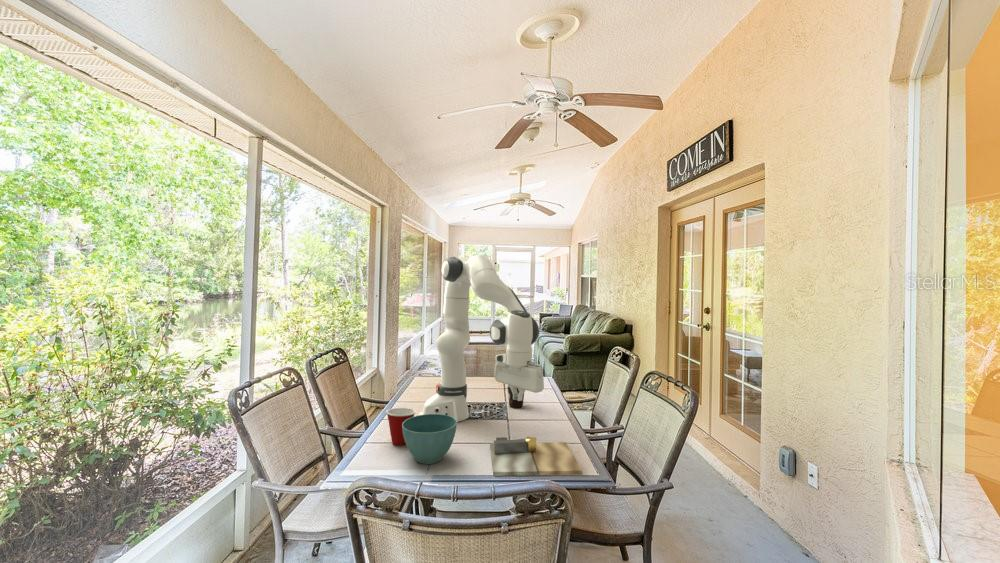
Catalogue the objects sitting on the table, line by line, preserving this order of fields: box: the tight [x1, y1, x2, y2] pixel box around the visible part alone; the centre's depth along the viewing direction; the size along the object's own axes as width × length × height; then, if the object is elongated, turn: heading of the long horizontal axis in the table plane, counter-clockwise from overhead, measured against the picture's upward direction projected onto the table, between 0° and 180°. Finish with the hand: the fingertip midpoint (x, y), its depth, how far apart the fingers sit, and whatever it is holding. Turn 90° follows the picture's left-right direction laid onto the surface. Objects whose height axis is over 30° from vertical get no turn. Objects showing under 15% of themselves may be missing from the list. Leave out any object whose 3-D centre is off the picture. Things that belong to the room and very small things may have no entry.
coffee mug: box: [506, 384, 525, 410], centre depth 195 cm, size 12×9×10 cm
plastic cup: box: [385, 407, 417, 447], centre depth 149 cm, size 11×11×12 cm
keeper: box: [495, 436, 509, 440], centre depth 143 cm, size 4×3×3 cm
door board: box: [489, 441, 583, 477], centre depth 136 cm, size 28×22×1 cm
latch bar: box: [493, 436, 537, 454], centre depth 139 cm, size 15×4×4 cm, turn 100°
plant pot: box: [402, 414, 458, 465], centre depth 136 cm, size 18×18×12 cm
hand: (517, 399), depth 135 cm, fingers closed
